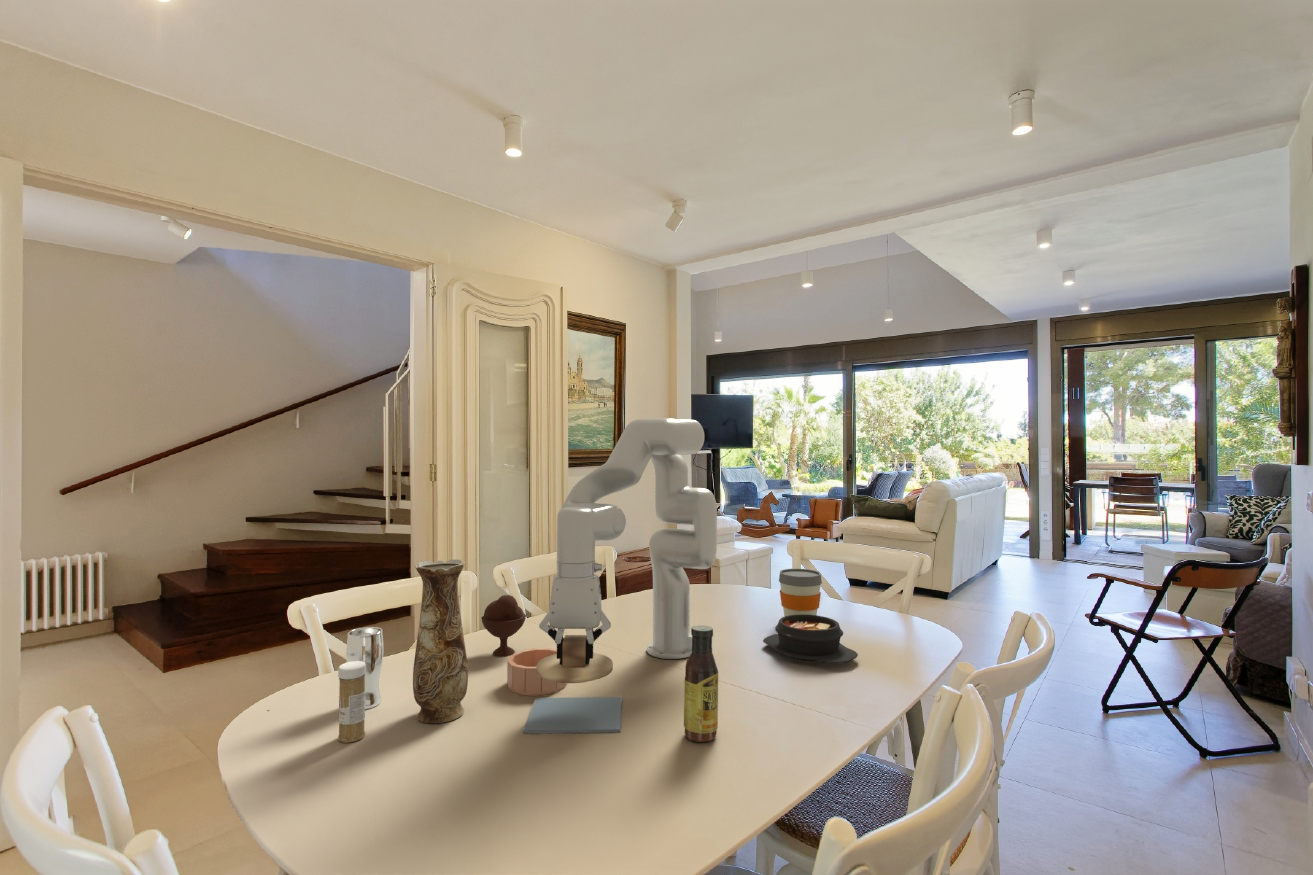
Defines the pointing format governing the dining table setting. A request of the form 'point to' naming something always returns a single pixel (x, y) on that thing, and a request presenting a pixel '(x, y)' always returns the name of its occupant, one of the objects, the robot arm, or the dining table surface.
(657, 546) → the robot arm
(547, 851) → the dining table surface
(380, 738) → the dining table surface
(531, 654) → the bowl
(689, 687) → the sauce bottle
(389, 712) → the dining table surface
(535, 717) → the mat
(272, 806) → the dining table surface
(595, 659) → the lid
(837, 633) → the casserole
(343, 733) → the sprinkles bottle
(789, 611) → the reusable coffee cup
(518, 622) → the ice cream bowl
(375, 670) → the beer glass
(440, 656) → the vase
